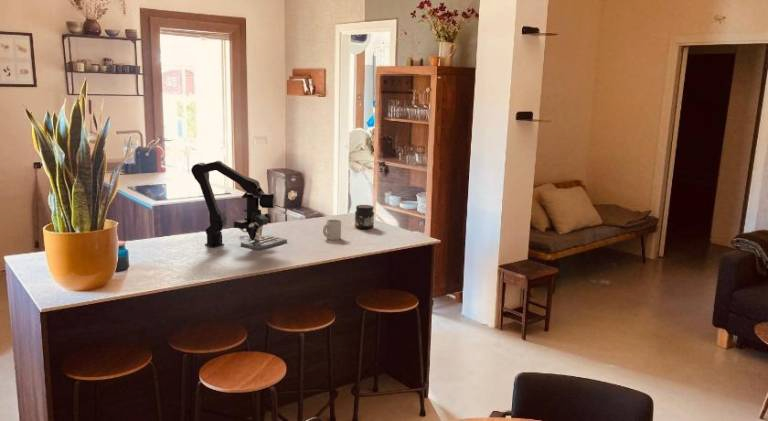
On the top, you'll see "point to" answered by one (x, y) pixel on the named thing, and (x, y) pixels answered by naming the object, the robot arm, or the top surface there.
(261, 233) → the mug
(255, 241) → the fader tab
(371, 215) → the supplement container
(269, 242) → the console board
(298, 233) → the top surface
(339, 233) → the cup
